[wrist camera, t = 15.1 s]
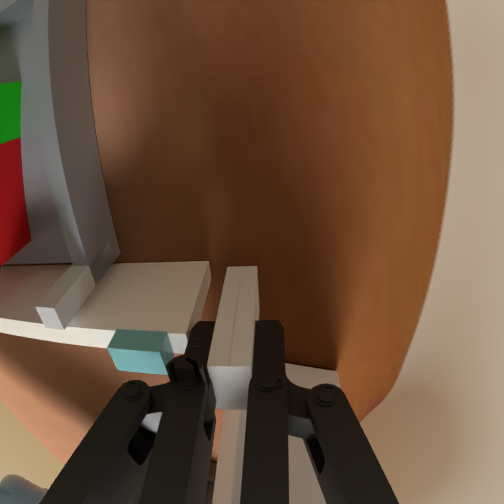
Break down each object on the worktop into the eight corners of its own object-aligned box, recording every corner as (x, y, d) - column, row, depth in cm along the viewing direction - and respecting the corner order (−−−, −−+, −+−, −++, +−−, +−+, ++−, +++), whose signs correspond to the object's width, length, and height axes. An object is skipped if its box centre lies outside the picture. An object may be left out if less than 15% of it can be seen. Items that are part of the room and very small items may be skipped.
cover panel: (211, 280, 18) (186, 375, 12) (2, 279, 20) (-48, 334, 13) (208, 259, 18) (179, 352, 11) (-4, 265, 19) (-57, 318, 13)
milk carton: (223, 405, 24) (197, 618, 8) (243, 352, 21) (217, 637, 4) (303, 417, 25) (308, 618, 8) (337, 368, 22) (367, 623, 5)
